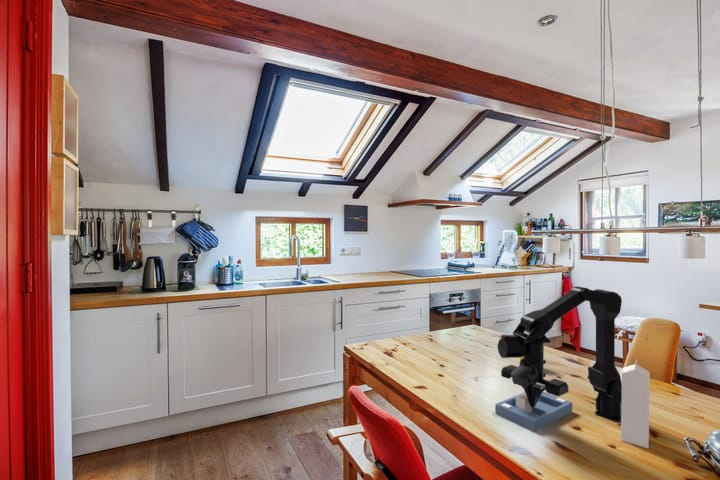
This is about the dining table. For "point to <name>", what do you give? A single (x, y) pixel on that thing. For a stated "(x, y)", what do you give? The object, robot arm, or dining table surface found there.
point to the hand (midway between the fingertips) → (532, 406)
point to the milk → (635, 405)
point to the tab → (523, 403)
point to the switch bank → (535, 411)
